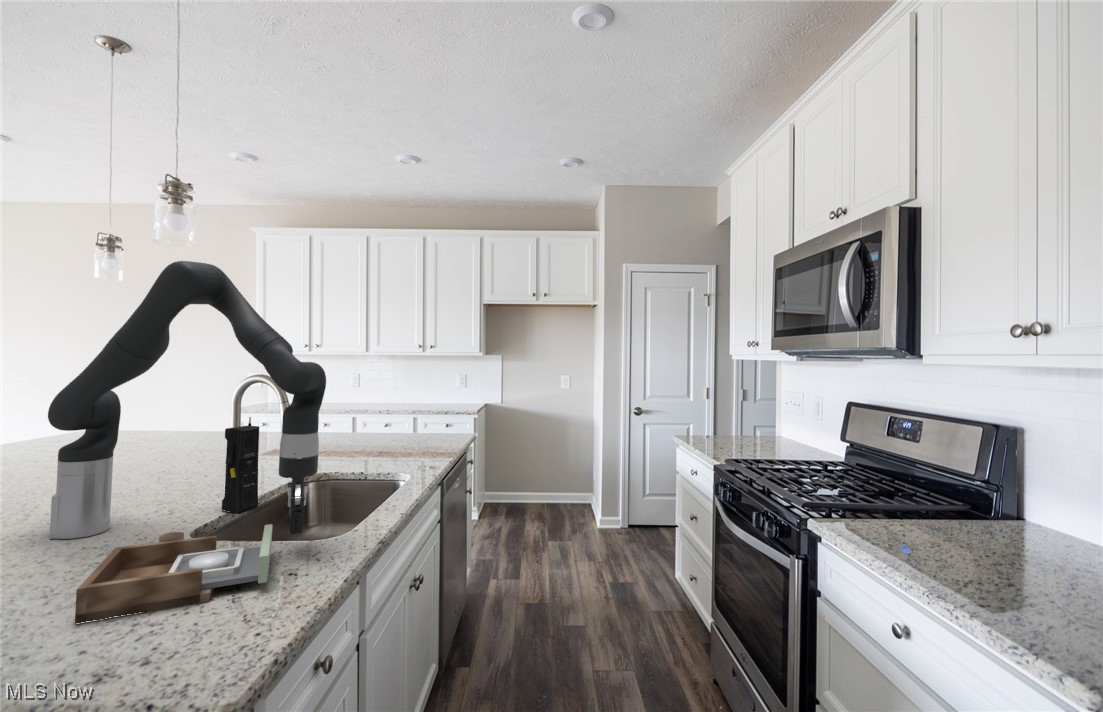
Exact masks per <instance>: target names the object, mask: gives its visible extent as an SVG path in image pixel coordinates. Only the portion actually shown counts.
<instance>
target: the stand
mask: <svg viewBox="0 0 1103 712" xmlns="http://www.w3.org/2000/svg"><path fill="white" fill-rule="evenodd" d="M183 539H185V533H184V532H183V531H173V532H169V533H168V532H167V533H164V534H162V535H159V537H158V542H166V541H174V540H183Z"/></svg>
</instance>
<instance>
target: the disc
mask: <svg viewBox="0 0 1103 712" xmlns="http://www.w3.org/2000/svg"><path fill="white" fill-rule="evenodd" d="M227 565H228V553H225V552H213V553H207V554H203V555H199V556H197V557H194V558H192V559H191V560H190V561H189V570H193V569H200V568H203V571H204V570H211V569H217V568H224V567H226V566H227Z"/></svg>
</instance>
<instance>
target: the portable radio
mask: <svg viewBox="0 0 1103 712" xmlns="http://www.w3.org/2000/svg"><path fill="white" fill-rule="evenodd" d="M248 418H249V421H248V423H247V424H248V425H242V426H234V427H229V428H224V429H225V430H224V439H225V440H226V454H225V455H226V456H225V474H224V475H225V476H224V477H225V478H224V479H225V480H224V497H223V499H222V500H221V511H222V510H225V511H230V512H229V513H231V512H232V513H233V514H240V513H244V512H245V511H248V510H251V509H254V508H257V507H258V505H259V450H260V449H259V447H260V446H259V445H260V426H258V425H252V423H251V422H252V421H251V419H252V417H251V416H248ZM232 513H231V514H232Z"/></svg>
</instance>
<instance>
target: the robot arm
mask: <svg viewBox="0 0 1103 712" xmlns="http://www.w3.org/2000/svg"><path fill="white" fill-rule="evenodd" d="M190 305H209V306H211V308H214V309H216V311H218V312H220V313H221V314H222V315H224V317H225V318H226V319H227V320H228V321H229V323H230V325H231V327H232V329H233V333H234V336H235V338H236V339H237V341H238V343H239V344H240V345H241V346H242V347H243V348H244V350H245V351H247V352H248V354H250V355H251V356H252V357H253V358H254V359H255V360H257V361H258V363H260V364H261V365H263V367H264V369H265V372H267V374H268V376H270V378H271V380H272V381H273V382H274V384H276V386H277V387H278V388H280V389H281V390H282V391H283V392H286V393H288V394H290V395H293V397H292V402H291V403H290V404H289V405H287V407H285V408H284V410H283V413H282V421H281V422H282V424H281V425H282V426H281V436H280V443H279V454H278V455H279V457H278V459H279V460H278V461H279V462H278V476H280V477H281V478H285V479H289V478H290V479H291V482H287V490H286V491H287V492H286V493H287V496H288V497H287V498H288V499H287V500H288V501H287V507H288V508H290V509H289V512H288V513H289V517H290V521H289V522H290V523H289V534H291V535H295V534H300V533H302V530H303V529H302V526H303V516H304V513H305V510H304V507H305V506H306V505H307V494H308V492H309V481H308V480H306V481H305V479H306V478H307V477H313V476H315V475H316V474H318V470H319V450H320V449H319V448H320V440H319V439H320V438H319V423H320V422H319V421H320V418H319V414H320V409H321V407H322V404H323V400H324V396H325V392H326V388H327V387H326V386H327V375H326V373H325V370H324V368H323V366H321V365H320V364H318V363H316V362H313V361H300V359H298V358H296V356H295V355H294V354H293V352H294V350H293V347H292V344H291V343H289V342H288V340H287V339H286V338H284V337H283V336H282V335H281V334H280V333H279V332H277V330H276V329H274V328H273V327H272V326H271V325H270V324H269V323H268V322H267V321H265V320H264V319H263V318H262V316H261V315H260V314H259V313H258V312H257V311H256V310H255V309H254V308H253V307H252V305H251V303H249V302H248V300H247V299H246V298H245V297H244V295H243V294H242V293H241V292H240V291H239V289H238V287H236V285H235V284H234V283H233V282H232V280H231V279H230V278H229V276H227V274H226V273H225V272H224V271H223V270H222V269H221V268H220V267H218V266H216V265H214V264H212V263H211V264H210V263H205V262H197V261H189V260H178V261H173V262H171V263H170V264H168V265H167V266H166V267H165V268H164V269H163V270H162V271H161V273H160V274H159V275H158V276H157V278H156V280H155V282H154V283H153V284H152V286H151V287H150V289H149V291H148V292H147V294H146V296H145V297H144V298H143V300H142V302H141V303H139V306H138V307H137V308H136V309H135V310H134V311H133V313H132V314H131V315H130V316H129V318H128V319H127V320H126V321H125V323H124V324H123V325H122V326H121V327H120V328H119V329H118V330H117V331H116V332H115V333H114V334H113V336H111V338H110V339H109V340H108V342H107V343H106V344H105V346H104V347H103V348H102V350H100V352H99V354H97V355H96V357H95V358H94V359H93V360H92V361H91V362H90V363H89V364H88V365H87V366H85V368H84V369H83V371H81V372H80V373H79V374H78V375H77V376H76V377H75V378H74V379H73V380H72V381H70V382H69V383H68V384H67V385H65V387H63V388H62V389H61V390H60V391H59V392H58V393H57V394H56V396H54V398H53V399H52V402H51V403H50V404H49V405H50V406H49V408H48V411H47V419H48V422H49V424H50V425H51V426H52V427H53V428H54V429H57V430H59V431H67V432H68V431H69V432H73V431H83V430H84V433H83V435H81V436H80V437H79V438H77V439H76V440H75V441H73V442H71V443H68V444H66V445H62V447H60V448H59V450H58V453H57V465H56V466H57V469H56V489H55V494H54V495H52V496H51V502H50V520H49V521H50V523H49V524H50V525H49V538H48V539H49V540H52V539H54V540H55V539H57V540H70V539H71V540H72V539H79V538H86V537H91V536H95V535H98V534H101V533H104V532H106V531H108V530H109V529H110V527H111V525H110V523H111V508H112V507H111V506H112V490H113V489H112V487H113V467H114V452H115V449H116V446H117V445H118V440H119V439H118V438H119V429H120V421H121V413H122V412H121V411H122V410H121V409H122V408H121V400H120V398H119V396H118V393H116V392H115V391H114V389H115V388H118V387H119V386H122V385H124V384H126V383H129V382H130V381H132V380H134V379H136V378H138V377H140V376H142V375H144V374H145V373H147V371H149V370H150V369H151V368H152V367H153V366H155V364H156V363H157V362H158V361H159V359H160V358H161V357H163V355H164V354H165V352H166V351H167V350H168V347H169V346H170V325H171V323H172V321H173V320H174V319H175V318H176V317H177V316H178V315H179V314H180V312H182V311H183V310H184V309H185V308H186V307H188V306H190Z"/></svg>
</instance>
